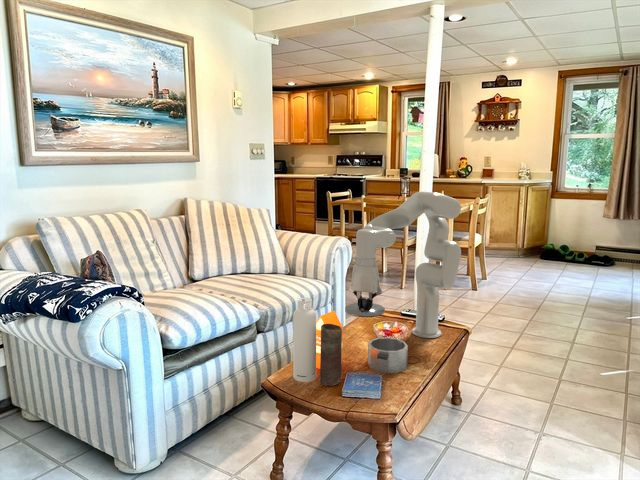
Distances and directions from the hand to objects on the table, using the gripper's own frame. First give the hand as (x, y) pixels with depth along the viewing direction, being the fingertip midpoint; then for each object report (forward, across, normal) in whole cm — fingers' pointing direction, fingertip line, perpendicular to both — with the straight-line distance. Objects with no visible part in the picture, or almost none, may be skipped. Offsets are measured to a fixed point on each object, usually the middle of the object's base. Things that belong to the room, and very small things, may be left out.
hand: (365, 307), depth 183 cm
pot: (+19, +11, -6) cm, 23 cm away
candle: (+19, -4, -27) cm, 34 cm away
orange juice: (+19, -10, -15) cm, 26 cm away
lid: (+1, 0, 0) cm, 1 cm away
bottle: (+19, -14, -27) cm, 36 cm away
